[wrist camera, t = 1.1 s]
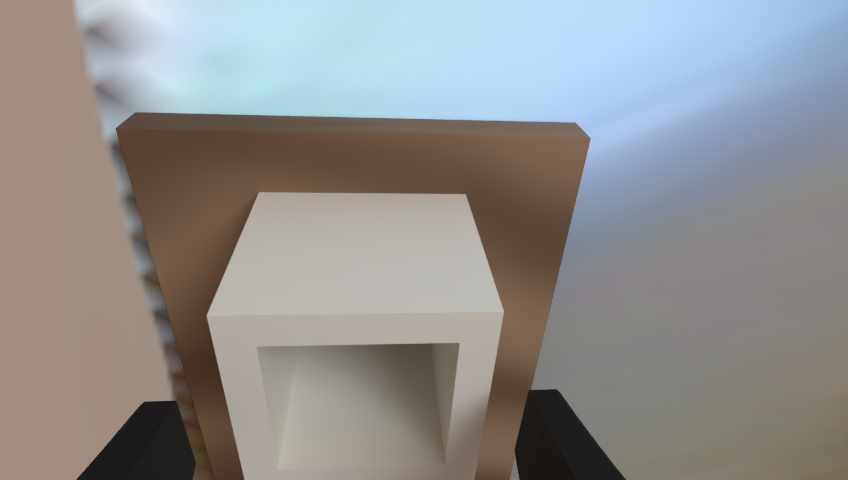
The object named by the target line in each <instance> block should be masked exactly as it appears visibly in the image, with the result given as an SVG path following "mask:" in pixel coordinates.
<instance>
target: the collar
mask: <svg viewBox="0 0 848 480" xmlns="http://www.w3.org/2000/svg"><path fill="white" fill-rule="evenodd" d="M503 315H504V310H503V307H502V304H501V301H500V298H499V295H498V292H497V289H496V286H495V282H494V279H493V276H492V273H491V270H490V267H489V264H488V261H487V258H486V255H485V252H484V249H483V246H482V243H481V239H480V236H479V233H478V230H477V227H476V224H475V221H474V218H473V215H472V212H471V209H470V206H469V203H468V199H467V196H466V194H397V193H291V192H259V193H258V196H257V198H256V200H255V203H254V205H253V208H252V210H251V212H250V215H249V217H248V219H247V222H246V224H245V226H244V229H243V231H242V233H241V236H240V238H239V241H238V243H237V245H236V248H235V250H234V252H233V255H232V257H231V259H230V262H229V264H228V266H227V269H226V271H225V273H224V276H223V278H222V281H221V283H220V285H219V288H218V290H217V292H216V295H215V297H214V299H213V302H212V304H211V306H210V309H209V311H208V314H207V320H208V324H209V328H210V333H211V337H212V341H213V346H214V350H215V354H216V359H217V363H218V367H219V372H220V376H221V380H222V385H223V389H224V393H225V398H226V402H227V406H228V411H229V415H230V419H231V424H232V428H233V432H234V437H235V441H236V445H237V450H238V454H239V458H240V462H241V467H242V471H243V475H244V480H474V479H475V474H476V468H477V462H478V457H479V451H480V445H481V440H482V434H483V428H484V423H485V417H486V411H487V406H488V400H489V394H490V389H491V383H492V377H493V372H494V366H495V360H496V355H497V349H498V343H499V338H500V332H501V326H502V321H503Z"/></svg>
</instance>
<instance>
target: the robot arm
mask: <svg viewBox="0 0 848 480" xmlns="http://www.w3.org/2000/svg"><path fill="white" fill-rule="evenodd" d="M515 456H516V462H517V468H518V473H519V479H520V480H626V479H625V478H624V477H623V475H622V474H621V473H620V472H619V470H618V469H617V468H616V467H615V466H614V464H613V463H612V462H611V461H610V459H609V458H608V457H607V455H606V454H605V453H604V452H603V450H602V449H601V448H600V446H599V445H598V444H597V442H596V441H595V440H594V438H593V437H592V436H591V434H590V433H589V432H588V430H587V429H586V428H585V426H584V425H583V424H582V422H581V421H580V420H579V418H578V417H577V416H576V414H575V413H574V411H573V410H572V409H571V407H570V406H569V404H568V403H567V402H566V400H565V399H564V397H563V396H562V395H561V393H560V392H559V391H558V390H557V389H551V390H529V391H528V395H527V399H526V404H525V408H524V412H523V416H522V420H521V425H520V429H519V433H518V437H517V441H516V446H515ZM195 465H196V462H195V459H194V456H193V453H192V449H191V446H190V443H189V440H188V437H187V433H186V430H185V427H184V424H183V421H182V417H181V414H180V411H179V408H178V405H177V401H154V402H144V403H143V404H141V405H140V406H139V408H138V409H137V410H136V411H135V412H134V414H133V415H132V416H131V417H130V418H129V419H128V420H127V422H126V423H125V424H124V425H123V427H122V428H121V429H120V430H119V431H118V432H117V433H116V435H115V436H114V437H113V438H112V439H111V441H110V442H109V443H108V444H107V445H106V446H105V448H104V449H103V450H102V451H101V452H100V453H99V455H98V456H97V457H96V458H95V459H94V460H93V461H92V463H91V464H90V465H89V466H88V467H87V468H86V470H85V471H84V472H83V473H82V474H81V475H80V476H79V477H78V478H77V480H192V479H193V474H194V470H195Z"/></svg>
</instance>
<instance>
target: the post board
mask: <svg viewBox="0 0 848 480" xmlns="http://www.w3.org/2000/svg"><path fill="white" fill-rule="evenodd" d="M116 131H117V135H118V138H119V142H120V146H121V149H122V153H123V156H124V160H125V163H126V167H127V170H128V174H129V177H130V181H131V184H132V188H133V191H134V195H135V199H136V202H137V206H138V209H139V213H140V216H141V220H142V223H143V227H144V230H145V234H146V237H147V241H148V244H149V248H150V251H151V255H152V259H153V262H154V266H155V269H156V273H157V276H158V280H159V283H160V287H161V290H162V294H163V297H164V301H165V304H166V308H167V311H168V315H169V319H170V322H171V326H172V329H173V333H174V336H175V340H176V343H177V347H178V350H179V354H180V357H181V361H182V364H183V368H184V372H185V375H186V379H187V382H188V386H189V389H190V393H191V396H192V400H193V403H194V407H195V410H196V414H197V417H198V421H199V424H200V428H201V432H202V435H203V439H204V442H205V446H206V449H207V453H208V456H209V460H210V463H211V467H212V470H213V474H214V477H215V480H244V475H243V471H242V467H241V462H240V458H239V454H238V450H237V445H236V441H235V437H234V432H233V428H232V424H231V419H230V415H229V411H228V406H227V402H226V398H225V393H224V389H223V385H222V380H221V376H220V372H219V367H218V363H217V359H216V354H215V350H214V346H213V341H212V337H211V333H210V328H209V324H208V320H207V314H208V311H209V309H210V306H211V304H212V302H213V299H214V297H215V295H216V292H217V290H218V288H219V285H220V283H221V281H222V278H223V276H224V273H225V271H226V269H227V266H228V264H229V262H230V259H231V257H232V255H233V252H234V250H235V248H236V245H237V243H238V241H239V238H240V236H241V233H242V231H243V229H244V226H245V224H246V222H247V219H248V217H249V215H250V212H251V210H252V208H253V205H254V203H255V200H256V198H257V196H258V193H259V192H291V193H397V194H466V196H467V199H468V203H469V206H470V209H471V212H472V215H473V218H474V221H475V224H476V227H477V230H478V233H479V236H480V239H481V243H482V246H483V249H484V252H485V255H486V258H487V261H488V264H489V267H490V270H491V273H492V276H493V279H494V282H495V286H496V289H497V292H498V295H499V298H500V301H501V304H502V307H503V310H504V315H503V321H502V326H501V332H500V338H499V343H498V349H497V355H496V360H495V366H494V372H493V377H492V383H491V389H490V394H489V400H488V406H487V411H486V417H485V423H484V428H483V434H482V440H481V445H480V451H479V457H478V462H477V468H476V474H475V479H474V480H509V479H510V474H511V470H512V466H513V462H514V458H515V446H516V441H517V437H518V433H519V429H520V425H521V420H522V416H523V412H524V408H525V404H526V399H527V395H528V391H529V390H531V386H532V382H533V378H534V374H535V369H536V365H537V361H538V357H539V353H540V348H541V344H542V340H543V336H544V332H545V328H546V323H547V319H548V315H549V311H550V307H551V302H552V298H553V294H554V290H555V286H556V281H557V277H558V273H559V269H560V265H561V260H562V256H563V252H564V248H565V244H566V239H567V235H568V231H569V227H570V223H571V218H572V214H573V210H574V206H575V202H576V197H577V193H578V189H579V185H580V181H581V176H582V172H583V168H584V164H585V160H586V155H587V151H588V147H589V143H590V139H591V138H590V137H589V136H588V135H587V134H586V133H585V132H584V131H583V130H582V129H581V128H580V127H579V126H578V125H577V124H576V123H560V122H517V121H475V120H432V119H390V118H347V117H305V116H262V115H220V114H177V113H134V114H133V115H132V116H130V117H129V118H128V119H127V120H125V121H124V122H123V123H122V124H121V125H119V126H118V127H117V128H116Z"/></svg>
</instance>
